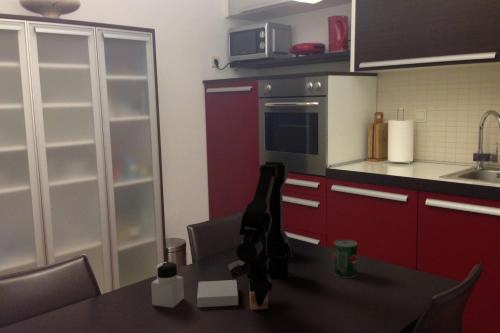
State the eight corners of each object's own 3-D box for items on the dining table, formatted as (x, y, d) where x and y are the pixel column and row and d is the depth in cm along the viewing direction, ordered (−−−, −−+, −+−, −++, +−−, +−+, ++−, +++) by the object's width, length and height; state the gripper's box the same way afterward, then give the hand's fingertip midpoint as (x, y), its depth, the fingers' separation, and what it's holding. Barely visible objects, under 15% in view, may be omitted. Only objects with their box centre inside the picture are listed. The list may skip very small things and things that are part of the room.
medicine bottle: (184, 298, 141) (182, 261, 139) (173, 308, 134) (171, 269, 132) (163, 295, 143) (161, 259, 141) (151, 305, 136) (149, 267, 135)
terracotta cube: (266, 301, 137) (265, 285, 137) (268, 308, 132) (267, 292, 132) (249, 302, 137) (249, 286, 136) (250, 309, 132) (250, 293, 131)
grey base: (236, 288, 147) (236, 279, 147) (238, 305, 135) (237, 295, 135) (199, 290, 146) (198, 281, 146) (197, 307, 134) (197, 297, 134)
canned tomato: (359, 277, 154) (359, 246, 152) (335, 278, 154) (335, 246, 152) (354, 269, 161) (354, 239, 160) (332, 269, 162) (332, 239, 160)
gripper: (228, 242, 141) (230, 290, 143) (230, 263, 122) (232, 318, 125) (264, 241, 142) (265, 288, 144) (271, 261, 123) (272, 316, 125)
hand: (258, 302), depth 134 cm, fingers closed on terracotta cube, 5 cm apart
